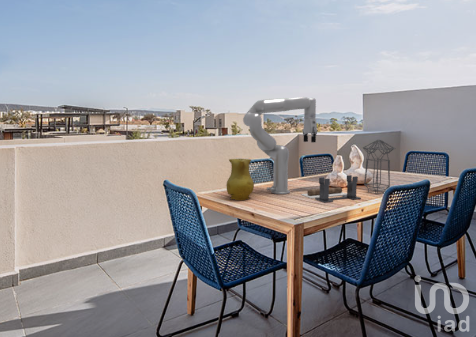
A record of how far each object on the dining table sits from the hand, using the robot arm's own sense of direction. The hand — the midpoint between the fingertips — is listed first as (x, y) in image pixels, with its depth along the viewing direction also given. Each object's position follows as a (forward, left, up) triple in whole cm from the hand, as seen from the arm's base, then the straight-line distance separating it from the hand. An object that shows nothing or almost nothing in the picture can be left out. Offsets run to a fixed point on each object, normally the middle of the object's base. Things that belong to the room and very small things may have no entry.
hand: (309, 142), depth 244 cm
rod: (0, -19, -33) cm, 38 cm away
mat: (0, -19, -33) cm, 38 cm away
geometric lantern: (+36, -26, -34) cm, 56 cm away
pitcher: (-53, -6, -34) cm, 63 cm away
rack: (0, -33, -33) cm, 47 cm away
